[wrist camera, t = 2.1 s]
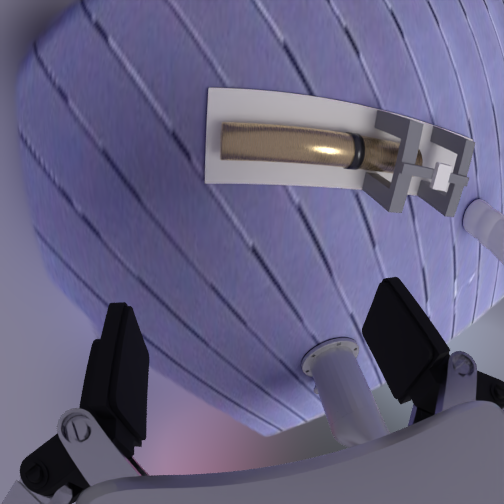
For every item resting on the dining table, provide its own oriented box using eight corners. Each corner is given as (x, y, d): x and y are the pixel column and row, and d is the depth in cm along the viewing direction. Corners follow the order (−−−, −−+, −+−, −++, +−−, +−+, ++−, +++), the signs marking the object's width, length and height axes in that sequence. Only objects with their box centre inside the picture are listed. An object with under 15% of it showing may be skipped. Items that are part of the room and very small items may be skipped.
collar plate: (452, 198, 40) (487, 224, 33) (204, 180, 34) (205, 213, 26) (469, 138, 34) (508, 156, 27) (208, 87, 28) (209, 89, 20)
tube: (406, 141, 33) (426, 150, 29) (400, 171, 35) (418, 182, 32) (221, 118, 29) (223, 123, 25) (219, 155, 31) (221, 166, 28)
